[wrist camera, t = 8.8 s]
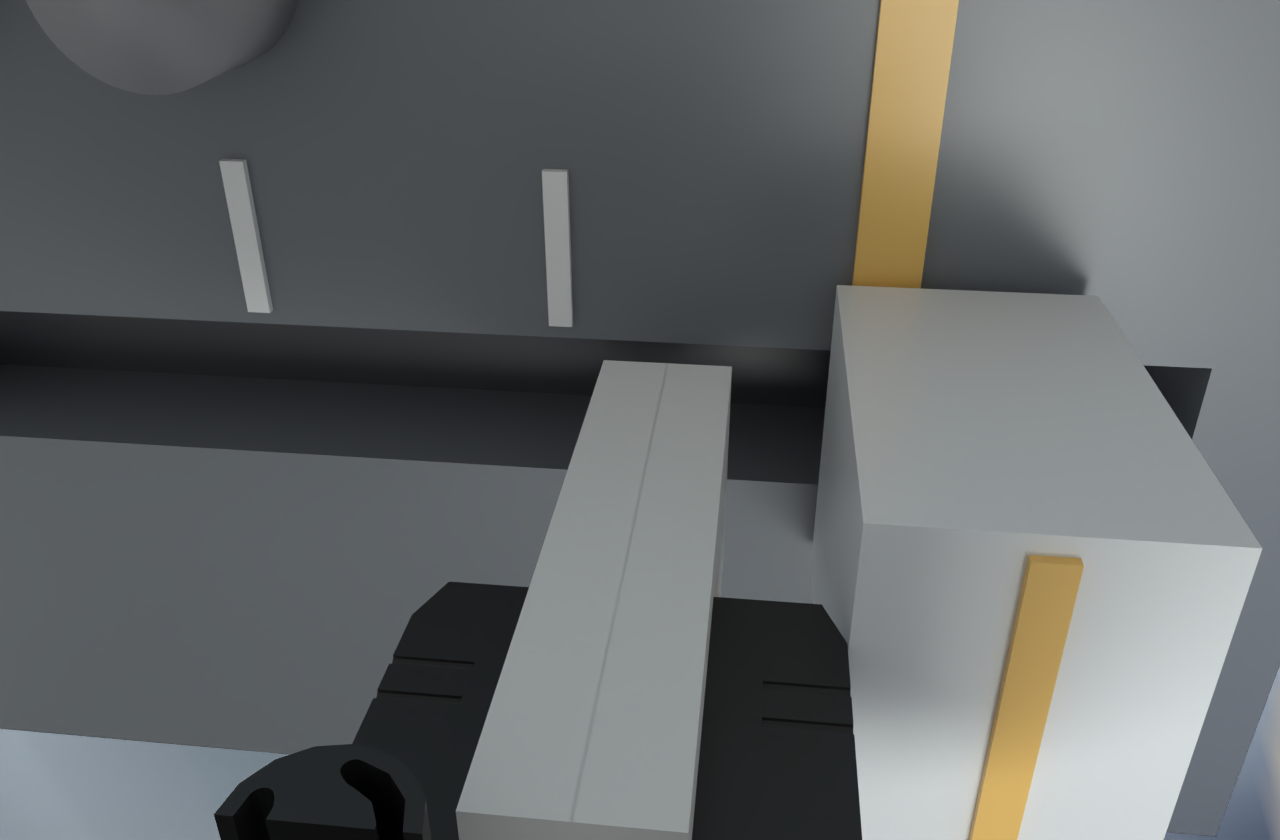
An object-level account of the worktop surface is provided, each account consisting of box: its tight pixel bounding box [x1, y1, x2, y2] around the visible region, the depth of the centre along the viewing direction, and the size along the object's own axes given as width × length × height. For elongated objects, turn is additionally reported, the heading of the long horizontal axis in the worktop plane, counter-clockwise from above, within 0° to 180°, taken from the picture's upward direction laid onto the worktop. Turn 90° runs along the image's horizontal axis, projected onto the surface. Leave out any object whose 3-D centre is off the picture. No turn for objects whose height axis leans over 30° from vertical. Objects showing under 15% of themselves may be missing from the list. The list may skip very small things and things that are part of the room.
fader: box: [811, 285, 1263, 840], centre depth 13 cm, size 3×4×7 cm
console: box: [0, 0, 1280, 837], centre depth 15 cm, size 22×14×4 cm, turn 90°
